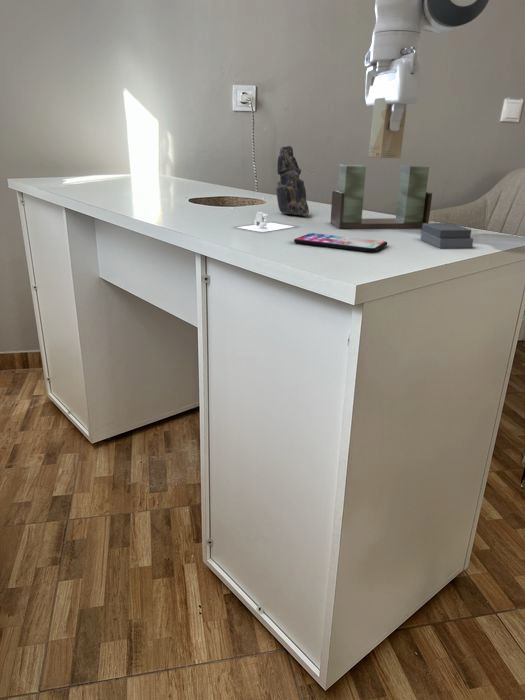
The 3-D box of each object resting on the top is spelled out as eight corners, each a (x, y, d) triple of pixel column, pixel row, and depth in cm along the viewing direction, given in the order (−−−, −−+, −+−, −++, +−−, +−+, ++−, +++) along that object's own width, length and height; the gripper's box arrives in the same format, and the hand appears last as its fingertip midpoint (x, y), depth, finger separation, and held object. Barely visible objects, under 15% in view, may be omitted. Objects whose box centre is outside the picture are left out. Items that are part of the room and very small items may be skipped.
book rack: (414, 222, 122) (421, 165, 117) (428, 228, 115) (435, 167, 111) (330, 223, 119) (334, 164, 114) (339, 228, 112) (343, 166, 108)
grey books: (451, 239, 103) (453, 223, 102) (472, 247, 96) (474, 230, 95) (420, 239, 103) (422, 223, 101) (439, 248, 95) (441, 230, 94)
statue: (295, 218, 124) (298, 147, 119) (270, 211, 134) (271, 145, 129) (316, 217, 127) (320, 147, 121) (290, 210, 137) (292, 145, 131)
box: (380, 158, 109) (386, 96, 105) (367, 157, 113) (372, 97, 109) (402, 158, 111) (408, 98, 107) (388, 157, 115) (394, 98, 111)
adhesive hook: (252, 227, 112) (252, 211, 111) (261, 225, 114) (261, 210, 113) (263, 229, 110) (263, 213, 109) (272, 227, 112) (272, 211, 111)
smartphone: (374, 249, 90) (291, 239, 97) (374, 253, 90) (291, 243, 97) (389, 241, 96) (310, 232, 103) (388, 245, 96) (310, 236, 103)
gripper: (434, 45, 96) (424, 131, 101) (391, 58, 115) (385, 130, 120) (399, 43, 95) (391, 130, 100) (362, 57, 114) (356, 130, 119)
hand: (387, 130), depth 110 cm, fingers closed on box, 5 cm apart
